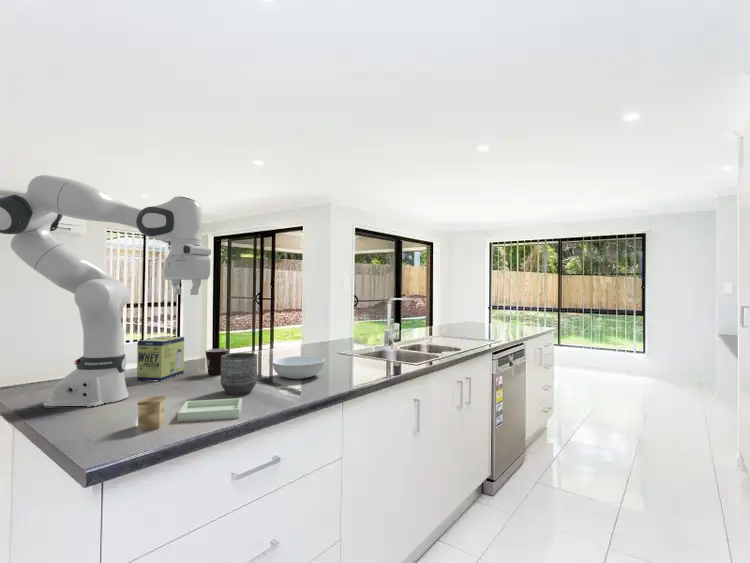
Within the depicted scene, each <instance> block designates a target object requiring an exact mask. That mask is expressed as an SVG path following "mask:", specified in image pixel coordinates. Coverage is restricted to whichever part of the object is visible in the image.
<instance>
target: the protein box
mask: <svg viewBox="0 0 750 563" xmlns="http://www.w3.org/2000/svg"><path fill="white" fill-rule="evenodd" d="M136 352H137V355H136V363H137V364H136V368H137V369H136V380H137V381H139V380H158V381H157V382H162V381H161V380H164V379H167V378H170V377H172V378H174V377H173V376H175V377H177V376H176V375H178V376H180V375H179V374H181V375H183V373H184V374H185V372H184V370H185V369H184V368H185V337H184V336H163V335H162V336H157V337H152V338H148V339H142V340H137V351H136ZM170 379H171V378H170ZM167 380H168V379H167ZM164 381H165V380H164Z"/></svg>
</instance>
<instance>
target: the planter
mask: <svg viewBox="0 0 750 563" xmlns="http://www.w3.org/2000/svg"><path fill="white" fill-rule="evenodd" d="M257 381H258V354H256V353H254V352H234V353H233V352H232V353H227V354H226V355H222V356H221V375H220V385H221V387H222V388H223V390H224V392H225V393H226V394H227V395H232V396H241V395H242V396H243V395H246V394H250V393H251V392H252V391H253V390H254V388H255V386H256V384H257V383H258V382H257Z"/></svg>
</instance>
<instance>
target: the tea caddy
mask: <svg viewBox="0 0 750 563" xmlns="http://www.w3.org/2000/svg"><path fill="white" fill-rule="evenodd" d="M165 399H166V396H165V395H164V396H163V395H161V396H144V397H142V398H141V399H140V400H139V401H138V402H137V405H138V407H137V411H138V412H137V416H138V417H137V431H145V430H144V429H148V430H157V428H160V429H161V427H162V426H163V425H164V424H165ZM162 424H163V425H162ZM161 425H162V426H161Z"/></svg>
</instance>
